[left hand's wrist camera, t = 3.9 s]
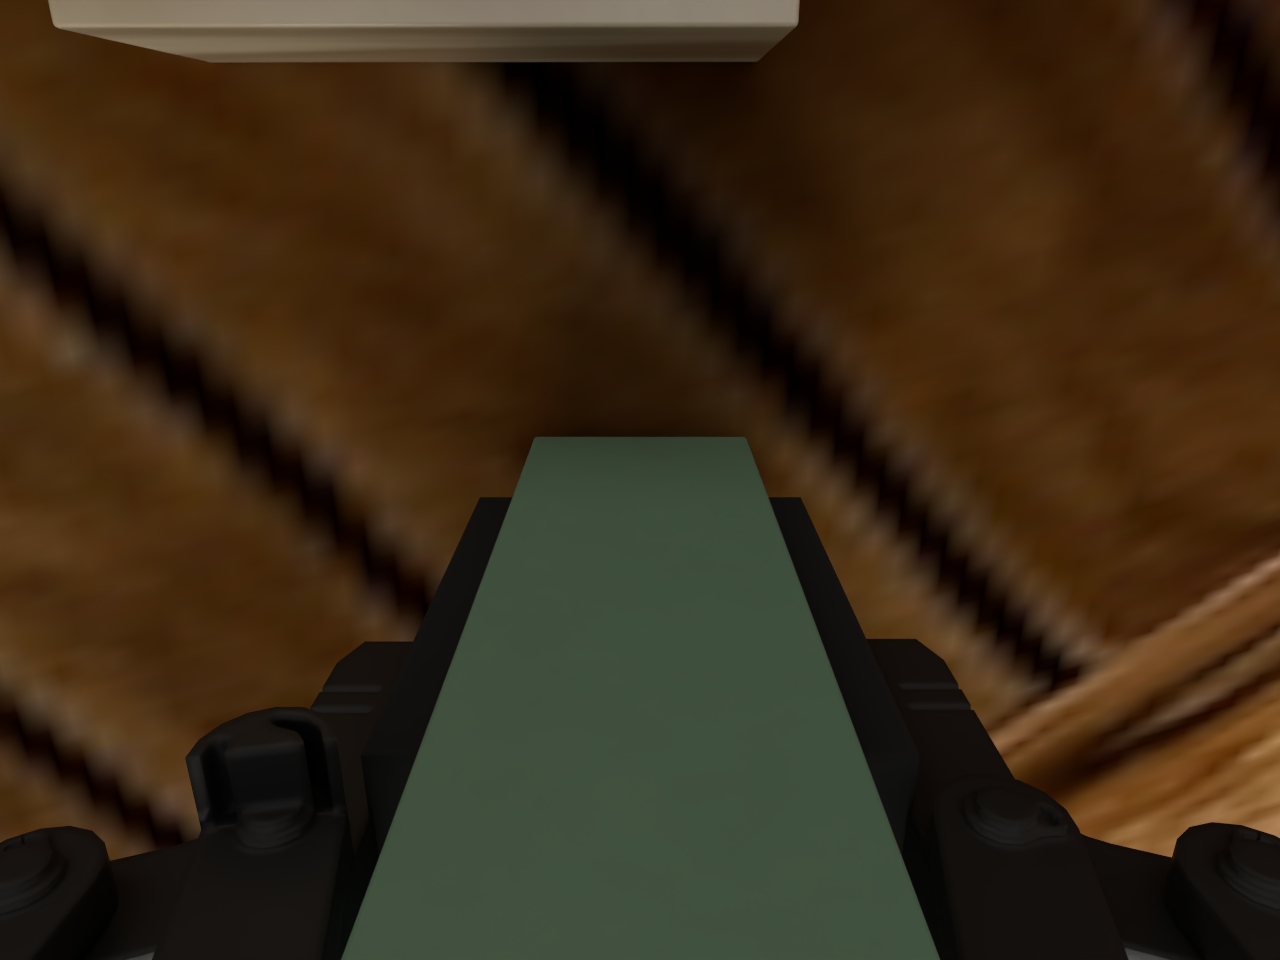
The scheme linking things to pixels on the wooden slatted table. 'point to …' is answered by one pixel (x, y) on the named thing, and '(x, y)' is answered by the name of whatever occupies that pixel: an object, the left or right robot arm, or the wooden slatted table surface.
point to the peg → (640, 740)
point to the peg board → (439, 29)
